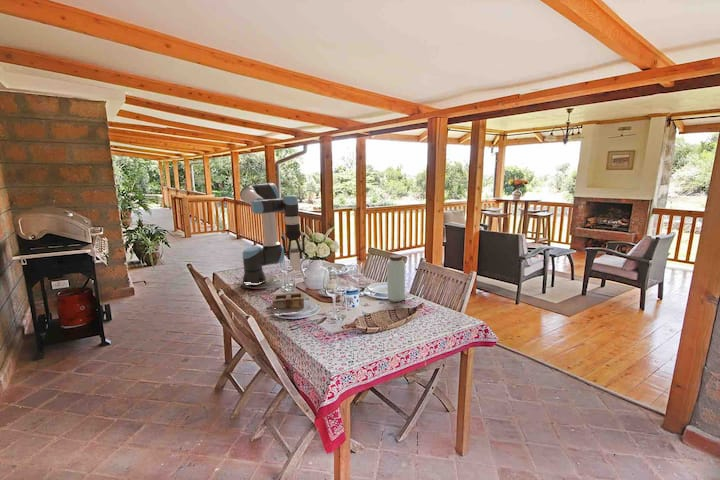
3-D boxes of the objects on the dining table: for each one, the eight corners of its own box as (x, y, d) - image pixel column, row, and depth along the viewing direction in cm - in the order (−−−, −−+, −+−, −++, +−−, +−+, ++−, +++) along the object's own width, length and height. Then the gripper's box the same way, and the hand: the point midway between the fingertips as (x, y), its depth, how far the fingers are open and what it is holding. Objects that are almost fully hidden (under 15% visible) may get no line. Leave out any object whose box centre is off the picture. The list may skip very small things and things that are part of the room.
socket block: (274, 304, 197) (274, 294, 196) (304, 302, 199) (303, 291, 198) (273, 312, 187) (272, 301, 186) (304, 309, 190) (303, 298, 188)
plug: (292, 268, 201) (290, 247, 199) (299, 268, 202) (297, 247, 199) (292, 270, 197) (290, 249, 195) (299, 269, 198) (297, 249, 195)
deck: (289, 296, 209) (289, 294, 209) (306, 295, 210) (306, 293, 210) (288, 302, 199) (288, 301, 199) (306, 301, 201) (306, 299, 200)
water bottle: (384, 301, 198) (384, 257, 192) (390, 294, 207) (389, 253, 201) (402, 303, 194) (402, 259, 188) (407, 296, 203) (406, 254, 198)
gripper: (276, 225, 189) (279, 267, 194) (308, 223, 192) (310, 265, 197) (276, 223, 196) (280, 264, 201) (307, 221, 199) (310, 261, 204)
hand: (295, 264), depth 199 cm, fingers closed on plug, 4 cm apart
